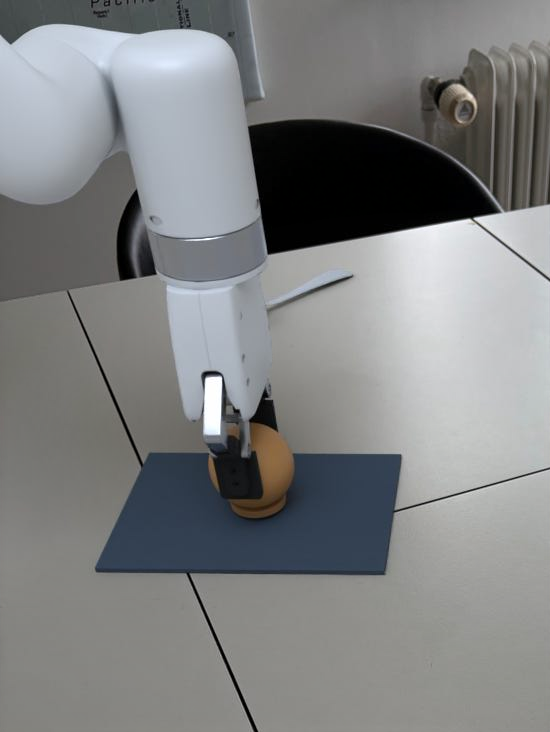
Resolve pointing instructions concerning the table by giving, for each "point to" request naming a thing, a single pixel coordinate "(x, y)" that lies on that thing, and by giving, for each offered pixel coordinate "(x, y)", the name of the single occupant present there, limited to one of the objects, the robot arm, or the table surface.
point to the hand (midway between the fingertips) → (251, 468)
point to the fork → (313, 284)
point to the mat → (257, 520)
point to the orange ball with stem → (264, 471)
